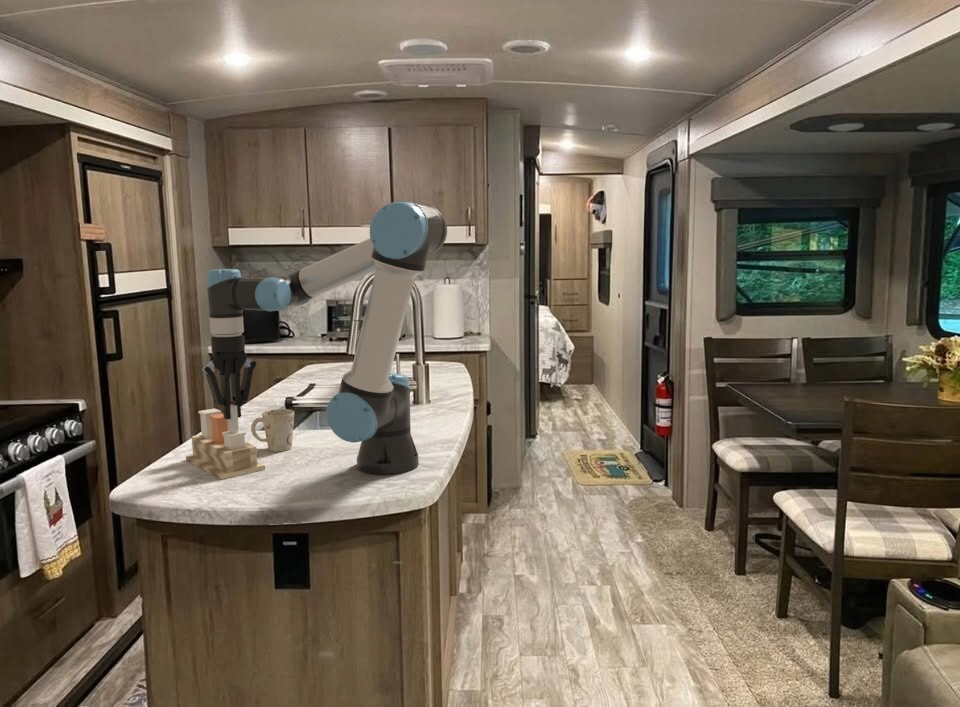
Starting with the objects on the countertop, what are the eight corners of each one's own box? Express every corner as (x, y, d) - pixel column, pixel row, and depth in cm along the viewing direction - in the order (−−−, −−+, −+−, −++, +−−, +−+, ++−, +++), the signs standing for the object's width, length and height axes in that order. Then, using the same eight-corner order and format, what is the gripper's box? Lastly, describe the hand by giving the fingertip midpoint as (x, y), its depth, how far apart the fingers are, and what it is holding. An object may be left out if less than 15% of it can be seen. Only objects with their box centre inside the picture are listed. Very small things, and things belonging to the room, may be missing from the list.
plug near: (247, 462, 181) (245, 432, 179) (231, 465, 178) (229, 435, 177) (240, 458, 184) (238, 429, 183) (223, 462, 181) (221, 432, 180)
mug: (287, 453, 195) (285, 416, 194) (243, 451, 198) (241, 415, 196) (301, 445, 203) (299, 409, 202) (258, 443, 206) (256, 408, 204)
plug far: (223, 439, 190) (221, 411, 189) (207, 442, 188) (204, 413, 187) (216, 436, 194) (214, 408, 192) (200, 439, 191) (198, 411, 190)
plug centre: (234, 444, 185) (232, 415, 184) (218, 447, 182) (216, 418, 181) (227, 441, 188) (225, 412, 187) (211, 444, 186) (209, 415, 184)
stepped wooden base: (264, 469, 182) (263, 445, 181) (221, 479, 174) (219, 454, 174) (227, 451, 198) (225, 429, 197) (185, 460, 191) (184, 437, 190)
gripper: (246, 330, 183) (251, 424, 187) (193, 335, 174) (200, 433, 178) (260, 333, 178) (265, 429, 181) (206, 338, 169) (213, 439, 173)
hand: (233, 431), depth 180 cm, fingers closed
